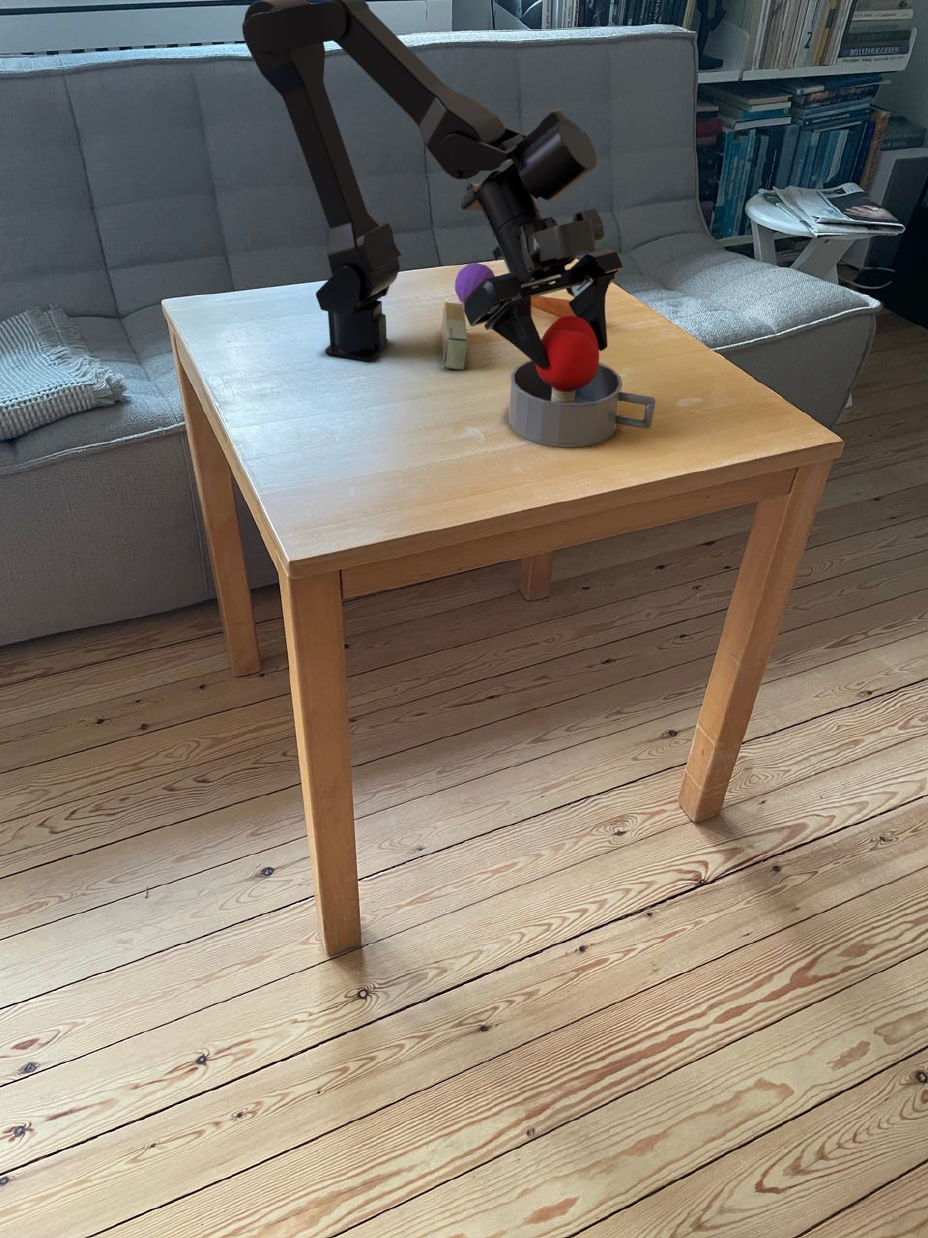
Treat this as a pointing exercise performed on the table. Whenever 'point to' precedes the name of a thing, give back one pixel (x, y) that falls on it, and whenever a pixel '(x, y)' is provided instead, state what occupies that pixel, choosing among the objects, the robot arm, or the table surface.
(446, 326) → the medication box
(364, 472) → the table surface
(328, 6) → the robot arm
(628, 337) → the table surface
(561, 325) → the light bulb
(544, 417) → the measuring cup
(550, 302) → the maraca
